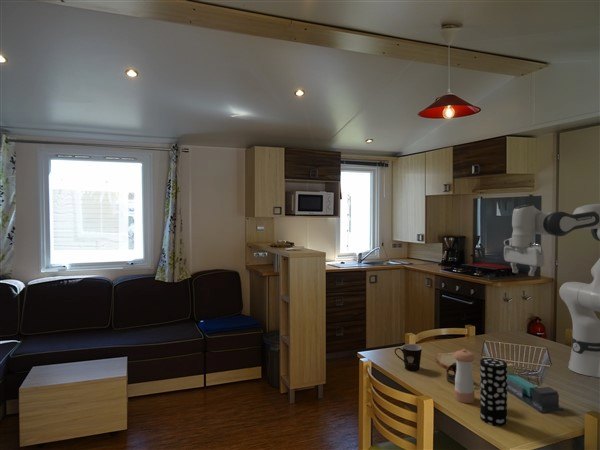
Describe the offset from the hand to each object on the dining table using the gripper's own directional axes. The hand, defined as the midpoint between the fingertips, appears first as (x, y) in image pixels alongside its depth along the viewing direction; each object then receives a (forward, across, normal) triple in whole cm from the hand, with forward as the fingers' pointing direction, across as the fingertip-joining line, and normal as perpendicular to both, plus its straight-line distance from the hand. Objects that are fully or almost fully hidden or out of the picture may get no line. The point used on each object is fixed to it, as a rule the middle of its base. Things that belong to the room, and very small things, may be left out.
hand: (523, 274), depth 171 cm
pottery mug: (+45, +2, +29) cm, 54 cm away
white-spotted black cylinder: (+45, -30, +35) cm, 65 cm away
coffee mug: (+45, +19, +43) cm, 65 cm away
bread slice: (+45, +21, +21) cm, 54 cm away
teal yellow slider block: (+43, -12, +11) cm, 46 cm away
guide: (+45, -17, +11) cm, 49 cm away
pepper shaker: (+45, -14, +36) cm, 60 cm away
